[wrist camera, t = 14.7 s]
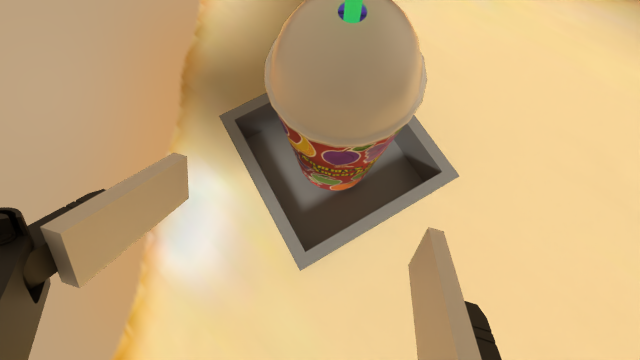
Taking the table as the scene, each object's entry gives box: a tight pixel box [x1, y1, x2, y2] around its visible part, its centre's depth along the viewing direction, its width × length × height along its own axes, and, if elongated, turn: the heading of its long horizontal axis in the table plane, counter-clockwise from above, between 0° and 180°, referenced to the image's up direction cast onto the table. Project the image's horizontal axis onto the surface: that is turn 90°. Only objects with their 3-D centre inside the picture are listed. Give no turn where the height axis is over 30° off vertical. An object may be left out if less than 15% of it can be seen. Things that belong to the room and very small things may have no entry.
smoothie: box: [264, 0, 427, 191], centre depth 18 cm, size 8×8×20 cm
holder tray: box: [219, 93, 459, 271], centre depth 26 cm, size 15×15×5 cm
